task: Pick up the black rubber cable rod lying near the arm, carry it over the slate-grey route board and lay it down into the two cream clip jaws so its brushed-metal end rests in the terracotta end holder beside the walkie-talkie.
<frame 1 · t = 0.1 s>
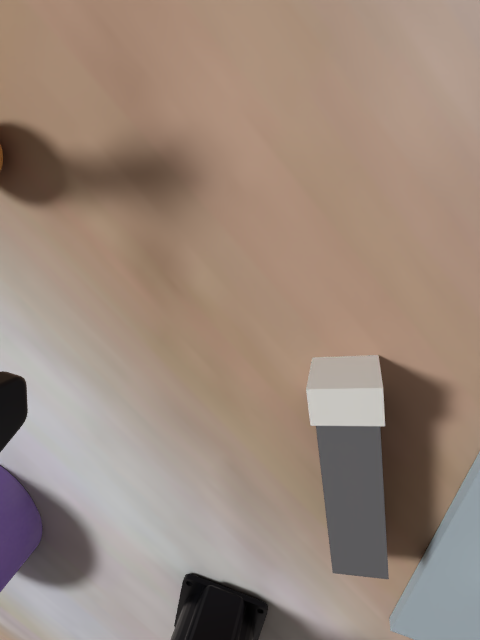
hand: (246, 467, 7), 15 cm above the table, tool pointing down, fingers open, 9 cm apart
cable rod: (352, 452, 24), on the table
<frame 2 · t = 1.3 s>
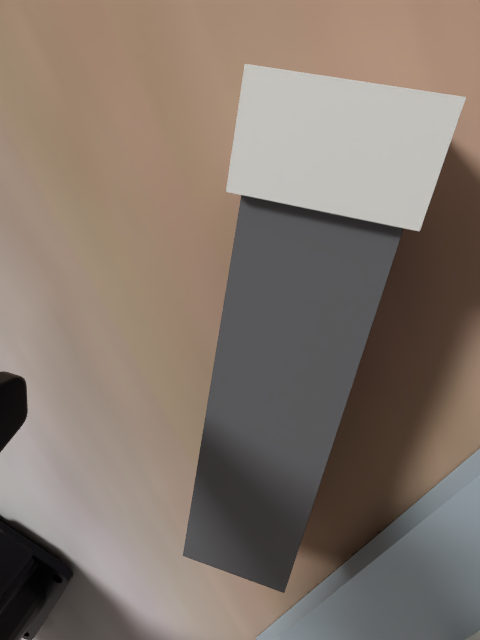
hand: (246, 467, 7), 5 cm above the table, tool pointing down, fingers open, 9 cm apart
cable rod: (292, 343, 12), on the table
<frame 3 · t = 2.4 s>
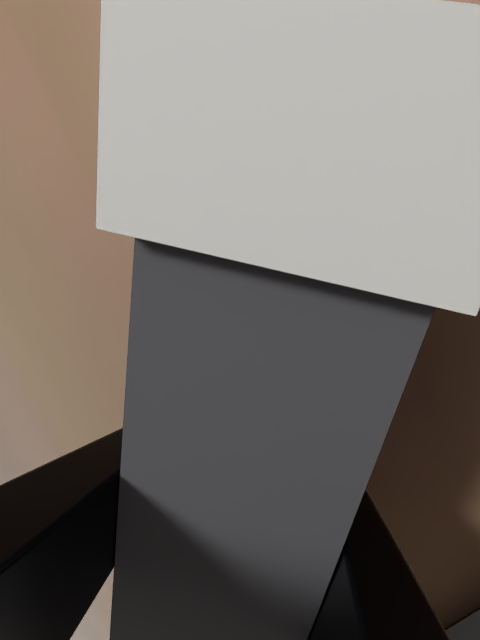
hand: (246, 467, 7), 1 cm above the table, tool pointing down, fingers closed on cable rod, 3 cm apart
cable rod: (260, 425, 8), on the table, touching gripper
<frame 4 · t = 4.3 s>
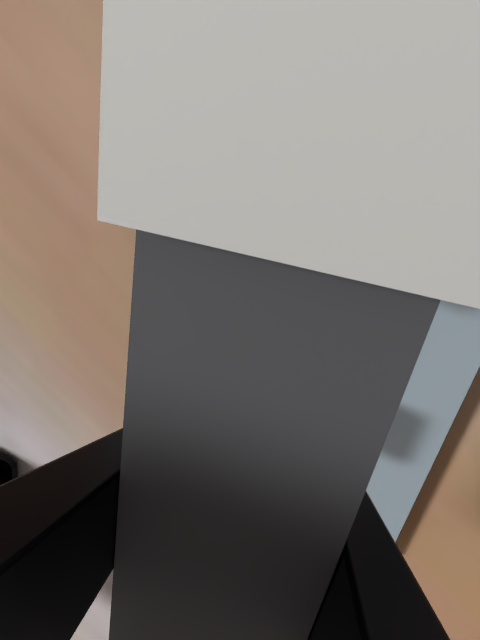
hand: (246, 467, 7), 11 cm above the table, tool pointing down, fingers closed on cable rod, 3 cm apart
cable rod: (260, 423, 8), point 10 cm above the table, touching gripper
route board: (303, 318, 18), on the table
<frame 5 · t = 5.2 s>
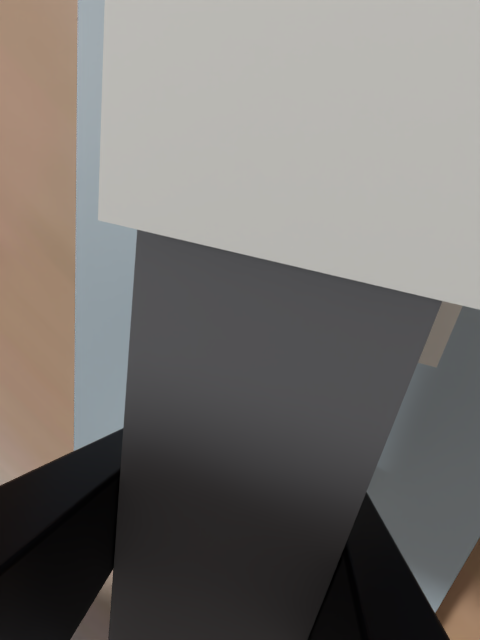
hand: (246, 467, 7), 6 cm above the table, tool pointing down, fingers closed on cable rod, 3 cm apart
cable rod: (260, 423, 8), point 5 cm above the table, touching gripper
route board: (285, 367, 13), on the table
when the fingers open (3 cm above the table, at t = 6.0 s): cable rod stays where it is, resting on route board.
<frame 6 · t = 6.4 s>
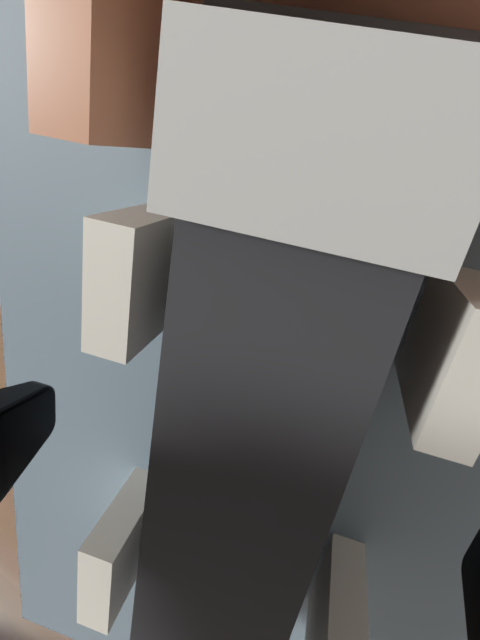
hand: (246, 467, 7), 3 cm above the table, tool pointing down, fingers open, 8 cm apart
cable rod: (269, 399, 9), point 1 cm above the table, touching route board
route board: (266, 422, 10), on the table
end holder: (349, 83, 7), resting on route board
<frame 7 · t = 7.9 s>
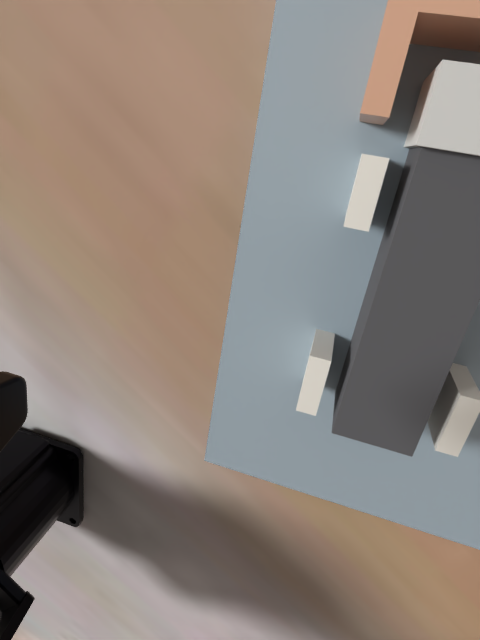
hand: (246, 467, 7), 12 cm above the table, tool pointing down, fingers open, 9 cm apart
cable rod: (414, 272, 16), point 1 cm above the table, touching route board
route board: (402, 296, 17), on the table
end holder: (474, 86, 14), resting on route board
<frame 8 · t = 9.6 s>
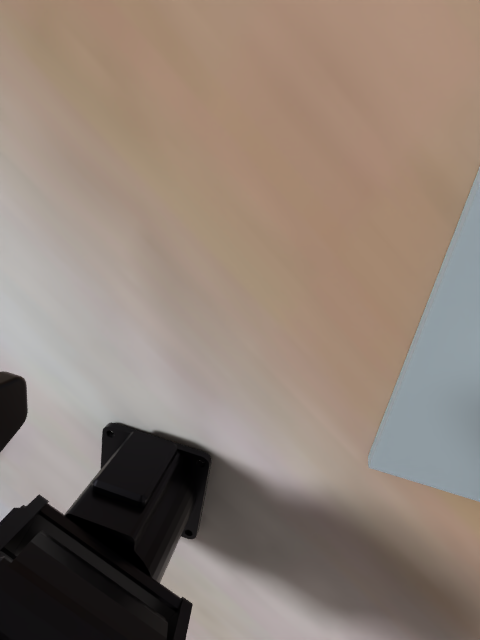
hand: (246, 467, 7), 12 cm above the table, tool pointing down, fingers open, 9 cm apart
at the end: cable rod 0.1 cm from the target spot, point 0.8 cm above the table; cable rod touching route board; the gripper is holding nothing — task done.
